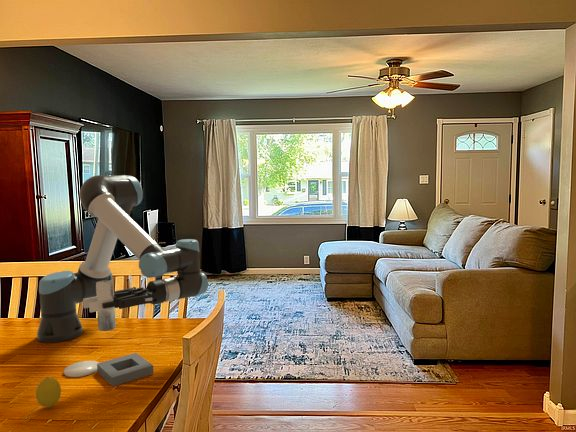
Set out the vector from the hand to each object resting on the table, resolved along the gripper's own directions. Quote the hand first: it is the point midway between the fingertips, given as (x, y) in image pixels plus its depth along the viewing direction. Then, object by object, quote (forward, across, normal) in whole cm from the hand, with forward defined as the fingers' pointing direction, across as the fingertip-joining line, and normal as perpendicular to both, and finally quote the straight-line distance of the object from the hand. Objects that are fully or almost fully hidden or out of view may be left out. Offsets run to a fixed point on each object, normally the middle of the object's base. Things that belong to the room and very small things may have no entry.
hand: (86, 305), depth 127 cm
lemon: (+13, -11, -22) cm, 28 cm away
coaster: (0, +7, -22) cm, 23 cm away
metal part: (-5, 0, -8) cm, 10 cm away
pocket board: (-9, -4, -22) cm, 23 cm away
